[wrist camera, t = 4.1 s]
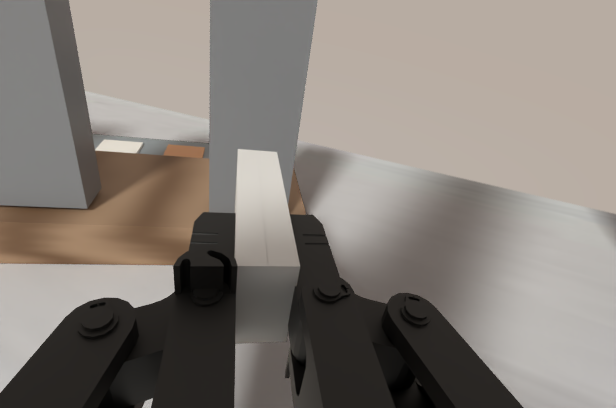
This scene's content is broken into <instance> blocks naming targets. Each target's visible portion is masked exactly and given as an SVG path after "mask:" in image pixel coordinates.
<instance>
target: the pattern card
mask: <svg viewBox="0 0 616 408" xmlns="http://www.w3.org/2000/svg"><path fill="white" fill-rule="evenodd" d="M92 136H93V142H94V147H95V151H109V152H123V153H137V154H151V155H165V156H179V157H193V158H207V159H209V143H198V142H185V141H173V140H160V139H148V138H135V137H123V136H110V135H98V134H92Z"/></svg>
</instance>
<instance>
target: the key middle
mask: <svg viewBox="0 0 616 408" xmlns="http://www.w3.org/2000/svg"><path fill="white" fill-rule="evenodd" d="M101 188H102V187H101V182H100V176H99V170H98V165H97V159H96V153H95V147H94V142H93V136H92V130H91V125H90V119H89V113H88V108H87V102H86V96H85V91H84V86H83V80H82V74H81V68H80V63H79V57H78V51H77V45H76V40H75V34H74V28H73V23H72V17H71V12H70V6H69V0H0V205H6V206H31V207H56V208H82V209H88V207H89V206H90V204H91V203H92V201H93V200H94V198H95V197H96V196H97V194H98V193H99V191H100V190H101Z"/></svg>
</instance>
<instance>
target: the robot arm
mask: <svg viewBox="0 0 616 408" xmlns="http://www.w3.org/2000/svg"><path fill="white" fill-rule="evenodd" d="M328 244H329V243H328V240H327V237H326V234H325V231H324V228H323V225H322V224H321V223H320V221H319V220H318V219H317V218H316V217H315V216H314V215H297V214H289V209H288V204H287V199H286V194H285V189H284V184H283V179H282V174H281V169H280V164H279V160H278V155H277V152H271V151H258V150H245V149H238V156H237V176H236V195H235V213H217V212H203V213H202V214H201V215H200V216H199V217H198V218H197V219H196V220H195V221H194V225H193V230H192V235H191V240H190V245H189V251H187V252H185V253H184V254H183V255H181V256H180V257H179V258H178V259H177V260H176V262H175V264H174V266H173V269H174V285H175V292H174V293H172V294H171V295H170V296H169V297H167V298H165V299H163V300H161V301H158V302H155V303H153V304H149V305H145V306H141V307H137V308H133V307H132V306H131V305H130V304H129V302H127V301H124V300H121V299H119V298H101V299H97V300H93V301H89V302H87V303H85V304H83V305H81V306H79V307H77V308H76V309H74V310H73V311H72V312H71V313H70V314H69V315H68V316H66V317H65V318H64V320H63V321H62V322H61V323H60V324H59V325H58V327H57V328H56V329H55V330H54V331H53V332H52V334H51V335H50V336H49V337H48V338H47V339H46V341H45V342H44V343H43V344H42V345H41V346H40V348H39V349H38V350H37V351H36V352H35V353H34V355H33V356H32V357H31V358H30V359H29V360H28V362H27V363H26V364H25V365H24V366H23V367H22V368H21V370H20V371H19V372H18V373H17V374H16V375H15V377H14V378H13V379H12V380H11V381H10V382H9V384H8V385H7V386H6V387H5V388H4V389H3V391H2V392H1V393H0V408H142V406H143V404H144V402H145V401H146V400H149V399H151V398H153V402H152V406H151V408H234V385H235V344H241V343H266V342H286V341H287V336H288V331H289V338H290V351H289V356H288V361H287V366H286V372H285V378H289V376H290V379H291V388H292V396H293V405H294V408H523V407H522V405H521V404H520V403H519V402H518V401H517V400H516V399H515V397H514V396H513V395H512V394H511V393H510V392H509V391H508V389H507V388H506V387H505V386H504V385H503V384H502V383H501V382H500V380H499V379H498V378H497V377H496V376H495V375H494V374H493V372H492V371H491V370H490V369H489V368H488V367H487V366H486V364H485V363H484V362H483V361H482V360H481V359H480V358H479V356H478V355H477V354H476V353H475V352H474V351H473V350H472V348H471V347H470V346H469V345H468V344H467V343H466V342H465V340H464V339H463V338H462V337H461V336H460V335H459V334H458V332H457V331H456V330H455V329H454V328H453V327H452V326H451V324H450V323H449V322H448V321H447V320H446V319H445V318H444V317H443V315H442V314H441V313H440V312H439V311H438V310H437V309H436V308H435V307H434V306H433V305H432V304H431V303H430V302H429V301H427V300H425V299H424V298H422V297H420V296H418V295H414V294H410V293H399V294H396V295H394V296H392V297H391V298H390V300H389V301H388V303H387V304H385V303H381V302H377V301H373V300H369V299H366V298H363V297H360V296H358V295H356V294H355V293H354V291H353V289H352V288H351V286H350V285H349V284H348V283H347V282H346V281H344V280H343V279H342V278H340V277H339V273H338V270H337V267H336V264H335V261H334V258H333V255H332V252H331V249H330V246H329V245H328Z"/></svg>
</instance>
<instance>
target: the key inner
mask: <svg viewBox="0 0 616 408" xmlns="http://www.w3.org/2000/svg"><path fill="white" fill-rule="evenodd" d="M316 7H317V0H210V133H209V212H217V213H235V195H236V176H237V156H238V149H245V150H258V151H271V152H277V155H278V160H279V164H280V169H281V174H282V179H283V184H284V189H285V194H286V199H287V204H288V202H289V195H290V188H291V181H292V175H293V168H294V161H295V154H296V147H297V140H298V132H299V126H300V119H301V112H302V105H303V98H304V91H305V84H306V77H307V70H308V62H309V56H310V49H311V42H312V35H313V27H314V21H315V14H316Z"/></svg>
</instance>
